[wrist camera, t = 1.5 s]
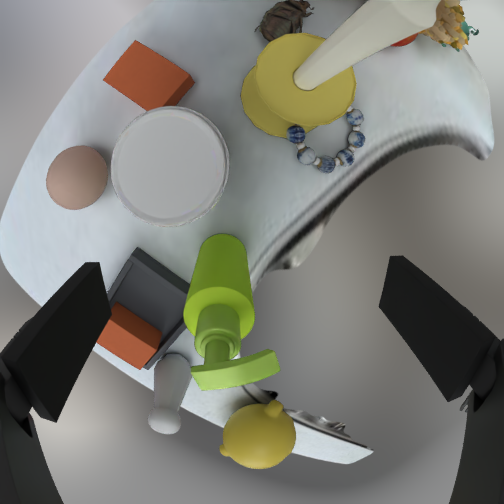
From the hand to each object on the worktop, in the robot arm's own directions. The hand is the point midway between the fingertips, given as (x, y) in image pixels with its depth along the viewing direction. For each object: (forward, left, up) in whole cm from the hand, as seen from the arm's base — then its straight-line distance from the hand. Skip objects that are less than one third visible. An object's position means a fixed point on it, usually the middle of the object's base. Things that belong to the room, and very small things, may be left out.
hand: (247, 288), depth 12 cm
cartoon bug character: (-36, -2, -16) cm, 40 cm away
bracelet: (-12, +2, -21) cm, 25 cm away
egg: (+9, -16, -22) cm, 29 cm away
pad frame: (+21, 0, -22) cm, 30 cm away
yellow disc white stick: (-12, -3, -22) cm, 25 cm away
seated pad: (+24, 0, -21) cm, 32 cm away
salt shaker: (+26, +9, -22) cm, 35 cm away
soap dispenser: (+7, +4, -22) cm, 23 cm away
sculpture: (+30, +32, -20) cm, 48 cm away
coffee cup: (0, -7, -22) cm, 23 cm away
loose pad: (-4, -16, -22) cm, 27 cm away
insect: (-19, -9, -18) cm, 28 cm away
